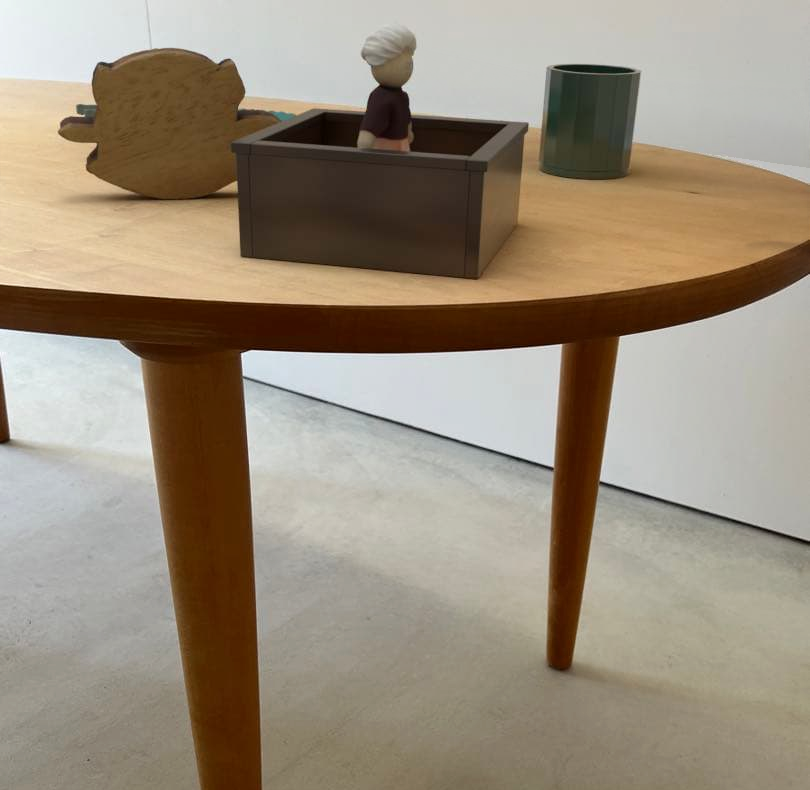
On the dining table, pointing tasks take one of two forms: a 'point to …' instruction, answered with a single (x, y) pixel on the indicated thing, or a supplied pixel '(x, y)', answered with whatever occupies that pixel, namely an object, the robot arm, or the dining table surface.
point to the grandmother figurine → (388, 89)
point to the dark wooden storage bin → (380, 193)
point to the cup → (588, 120)
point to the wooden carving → (166, 123)
